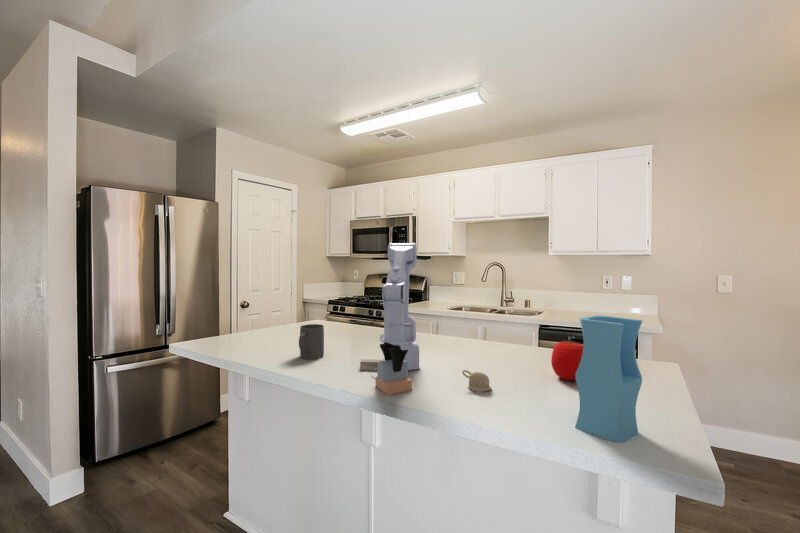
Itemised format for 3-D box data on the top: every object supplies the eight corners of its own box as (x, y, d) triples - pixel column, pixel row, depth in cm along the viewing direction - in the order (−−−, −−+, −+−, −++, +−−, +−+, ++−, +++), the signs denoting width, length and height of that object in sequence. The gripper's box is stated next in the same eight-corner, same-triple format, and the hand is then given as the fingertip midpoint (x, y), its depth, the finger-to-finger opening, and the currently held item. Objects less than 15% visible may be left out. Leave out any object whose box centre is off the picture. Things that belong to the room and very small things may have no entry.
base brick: (399, 382, 118) (399, 372, 118) (411, 390, 111) (412, 379, 111) (375, 386, 114) (375, 376, 114) (387, 394, 107) (387, 384, 107)
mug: (307, 352, 155) (307, 323, 154) (328, 354, 152) (328, 324, 152) (288, 361, 142) (288, 329, 141) (310, 363, 139) (310, 330, 139)
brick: (361, 367, 135) (361, 358, 135) (384, 367, 135) (384, 359, 135) (360, 370, 131) (360, 361, 131) (383, 370, 131) (383, 362, 131)
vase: (620, 444, 79) (622, 324, 78) (574, 427, 87) (576, 318, 86) (641, 432, 84) (642, 320, 84) (596, 417, 92) (598, 314, 92)
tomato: (554, 371, 130) (554, 335, 130) (592, 377, 124) (592, 339, 124) (547, 381, 119) (548, 341, 119) (588, 388, 113) (589, 346, 113)
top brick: (401, 374, 116) (401, 358, 116) (407, 378, 112) (407, 361, 112) (377, 378, 112) (377, 361, 112) (383, 382, 109) (383, 364, 108)
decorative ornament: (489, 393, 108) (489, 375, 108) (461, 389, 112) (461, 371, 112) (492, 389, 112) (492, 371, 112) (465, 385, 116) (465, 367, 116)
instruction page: (392, 372, 128) (392, 371, 128) (401, 377, 123) (401, 376, 123) (371, 375, 124) (371, 374, 124) (379, 381, 119) (379, 380, 119)
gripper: (371, 321, 117) (371, 365, 117) (393, 328, 104) (392, 377, 104) (391, 319, 120) (391, 362, 120) (415, 326, 107) (414, 374, 107)
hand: (393, 369), depth 112 cm, fingers closed on top brick, 4 cm apart
